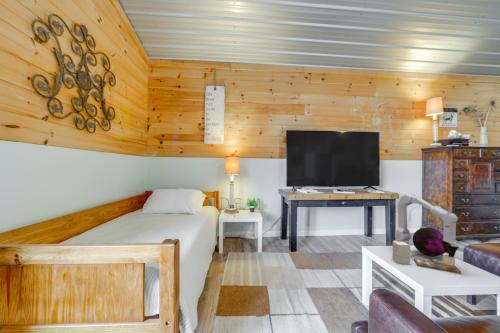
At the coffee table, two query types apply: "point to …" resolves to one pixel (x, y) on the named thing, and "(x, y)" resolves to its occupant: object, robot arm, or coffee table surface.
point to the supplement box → (401, 252)
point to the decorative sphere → (429, 242)
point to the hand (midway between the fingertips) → (449, 254)
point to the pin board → (435, 265)
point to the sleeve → (449, 261)
